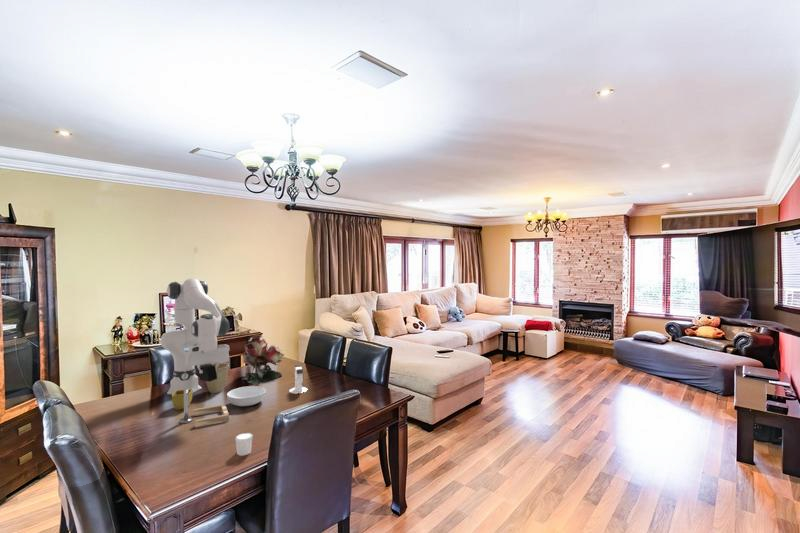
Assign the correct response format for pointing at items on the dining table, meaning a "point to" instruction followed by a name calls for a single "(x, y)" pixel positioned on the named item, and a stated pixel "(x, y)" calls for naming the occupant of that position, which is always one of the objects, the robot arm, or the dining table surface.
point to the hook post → (186, 410)
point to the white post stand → (298, 381)
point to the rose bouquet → (261, 359)
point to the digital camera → (208, 373)
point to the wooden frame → (211, 419)
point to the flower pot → (181, 398)
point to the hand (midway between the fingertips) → (208, 372)
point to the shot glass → (243, 443)
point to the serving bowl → (246, 395)
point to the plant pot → (218, 378)
